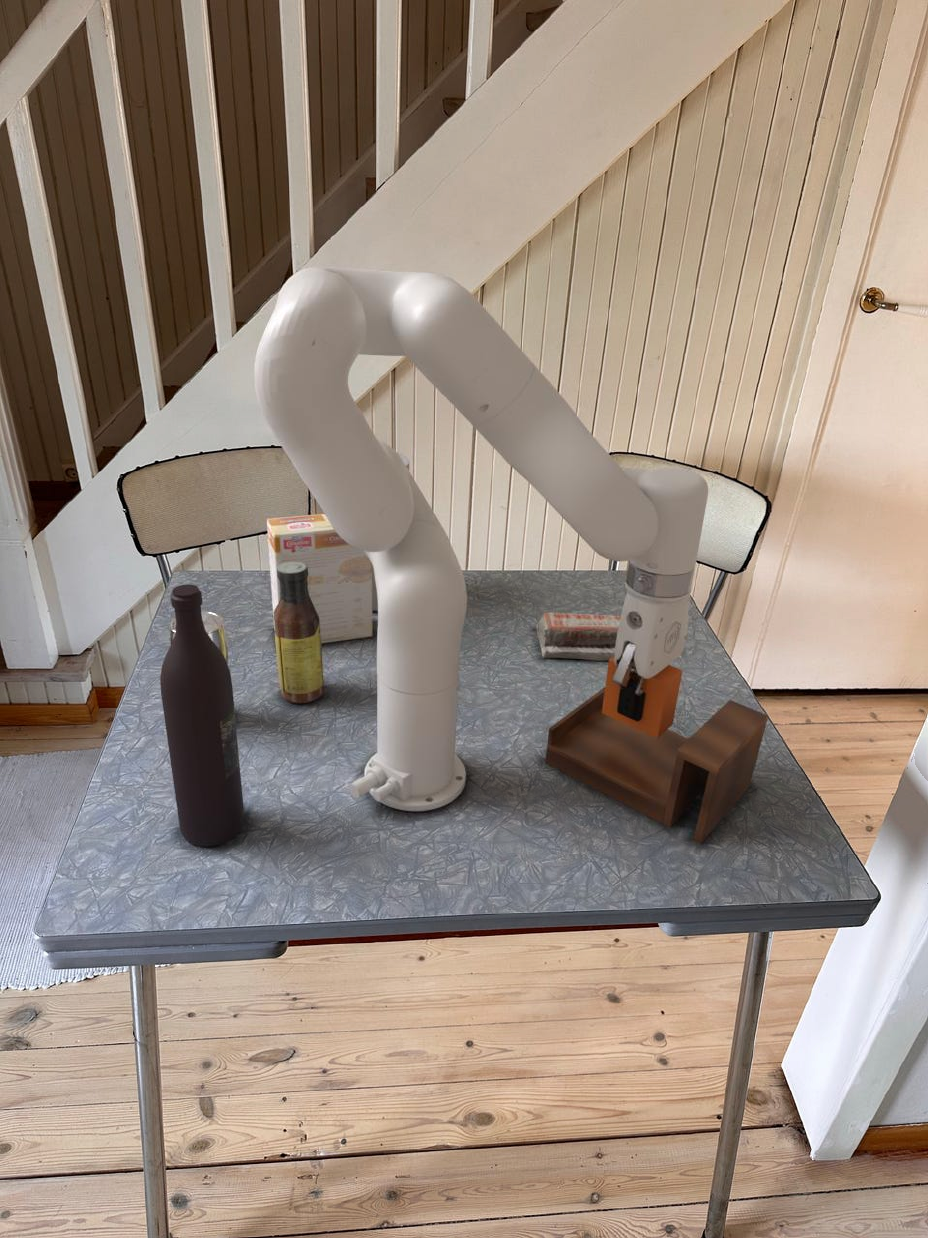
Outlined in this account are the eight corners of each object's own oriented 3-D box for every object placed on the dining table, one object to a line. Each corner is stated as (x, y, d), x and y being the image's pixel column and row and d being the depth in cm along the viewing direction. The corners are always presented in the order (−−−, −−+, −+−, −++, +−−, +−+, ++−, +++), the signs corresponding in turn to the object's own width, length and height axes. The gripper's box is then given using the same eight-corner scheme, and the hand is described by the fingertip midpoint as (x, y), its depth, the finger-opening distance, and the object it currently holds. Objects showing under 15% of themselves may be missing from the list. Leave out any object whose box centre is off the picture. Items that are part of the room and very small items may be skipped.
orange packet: (657, 738, 103) (667, 683, 99) (601, 713, 107) (608, 659, 103) (672, 724, 105) (682, 670, 102) (617, 700, 110) (625, 647, 106)
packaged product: (544, 633, 130) (537, 604, 139) (541, 659, 132) (535, 629, 141) (659, 636, 131) (645, 607, 140) (654, 662, 133) (640, 632, 142)
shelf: (700, 844, 97) (719, 768, 92) (544, 762, 109) (553, 691, 104) (749, 787, 107) (768, 715, 102) (601, 718, 119) (611, 651, 114)
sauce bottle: (332, 694, 121) (329, 568, 111) (297, 711, 117) (290, 582, 107) (304, 676, 125) (298, 553, 115) (269, 692, 120) (260, 566, 111)
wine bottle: (240, 847, 93) (217, 606, 79) (174, 849, 92) (139, 606, 78) (248, 805, 99) (227, 574, 85) (186, 807, 98) (155, 574, 84)
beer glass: (217, 699, 118) (206, 604, 111) (244, 721, 114) (235, 624, 107) (171, 718, 114) (157, 620, 107) (197, 741, 109) (185, 641, 102)
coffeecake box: (362, 617, 142) (361, 508, 133) (373, 637, 136) (373, 525, 127) (272, 629, 137) (265, 516, 128) (280, 650, 131) (273, 534, 122)
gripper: (653, 611, 89) (631, 750, 98) (720, 564, 101) (695, 692, 109) (593, 589, 93) (577, 725, 102) (664, 546, 105) (644, 672, 113)
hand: (638, 707), depth 105 cm, fingers closed on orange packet, 4 cm apart
